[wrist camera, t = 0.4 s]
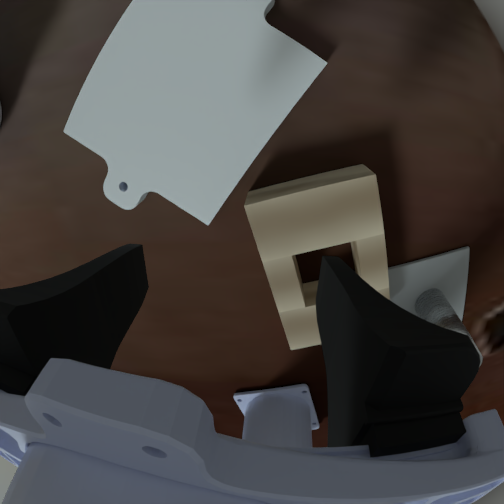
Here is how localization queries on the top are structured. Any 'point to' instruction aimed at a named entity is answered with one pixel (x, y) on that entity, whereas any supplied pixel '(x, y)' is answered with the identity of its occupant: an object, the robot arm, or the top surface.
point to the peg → (440, 312)
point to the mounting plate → (188, 99)
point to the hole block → (317, 238)
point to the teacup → (0, 114)
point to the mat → (431, 279)
